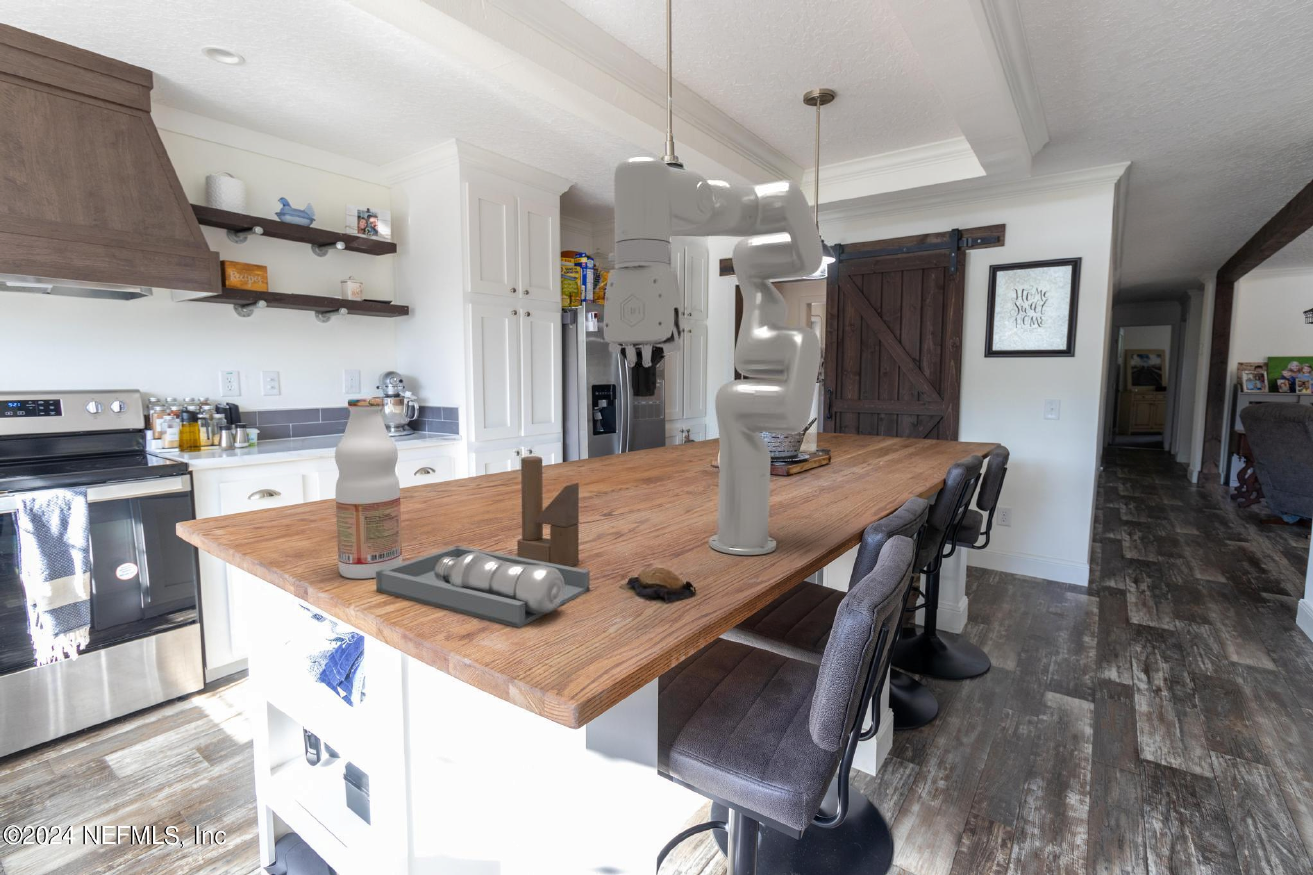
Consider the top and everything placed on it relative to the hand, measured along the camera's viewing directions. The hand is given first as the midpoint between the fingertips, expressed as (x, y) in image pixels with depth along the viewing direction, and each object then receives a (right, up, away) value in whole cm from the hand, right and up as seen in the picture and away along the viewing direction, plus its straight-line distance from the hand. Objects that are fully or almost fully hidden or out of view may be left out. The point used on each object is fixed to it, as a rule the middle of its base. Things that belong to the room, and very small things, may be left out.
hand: (644, 395), depth 84 cm
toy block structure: (-17, -27, +21) cm, 39 cm away
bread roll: (+2, -30, +8) cm, 31 cm away
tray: (-24, -29, +7) cm, 38 cm away
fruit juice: (-45, -28, +16) cm, 55 cm away
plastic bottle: (-11, -26, -4) cm, 29 cm away
